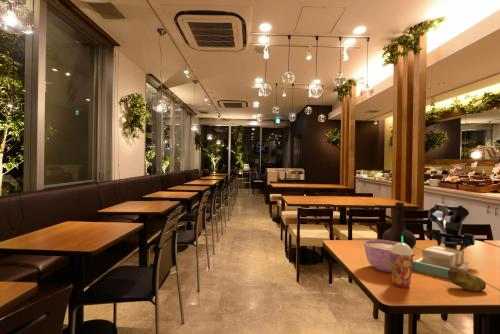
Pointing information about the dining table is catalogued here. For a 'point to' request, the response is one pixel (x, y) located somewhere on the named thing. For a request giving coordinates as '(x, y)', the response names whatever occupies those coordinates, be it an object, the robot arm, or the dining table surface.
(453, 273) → the potato
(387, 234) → the glass bottle
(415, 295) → the dining table surface
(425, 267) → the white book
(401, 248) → the smoothie
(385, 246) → the bowl of food
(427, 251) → the metallic block
